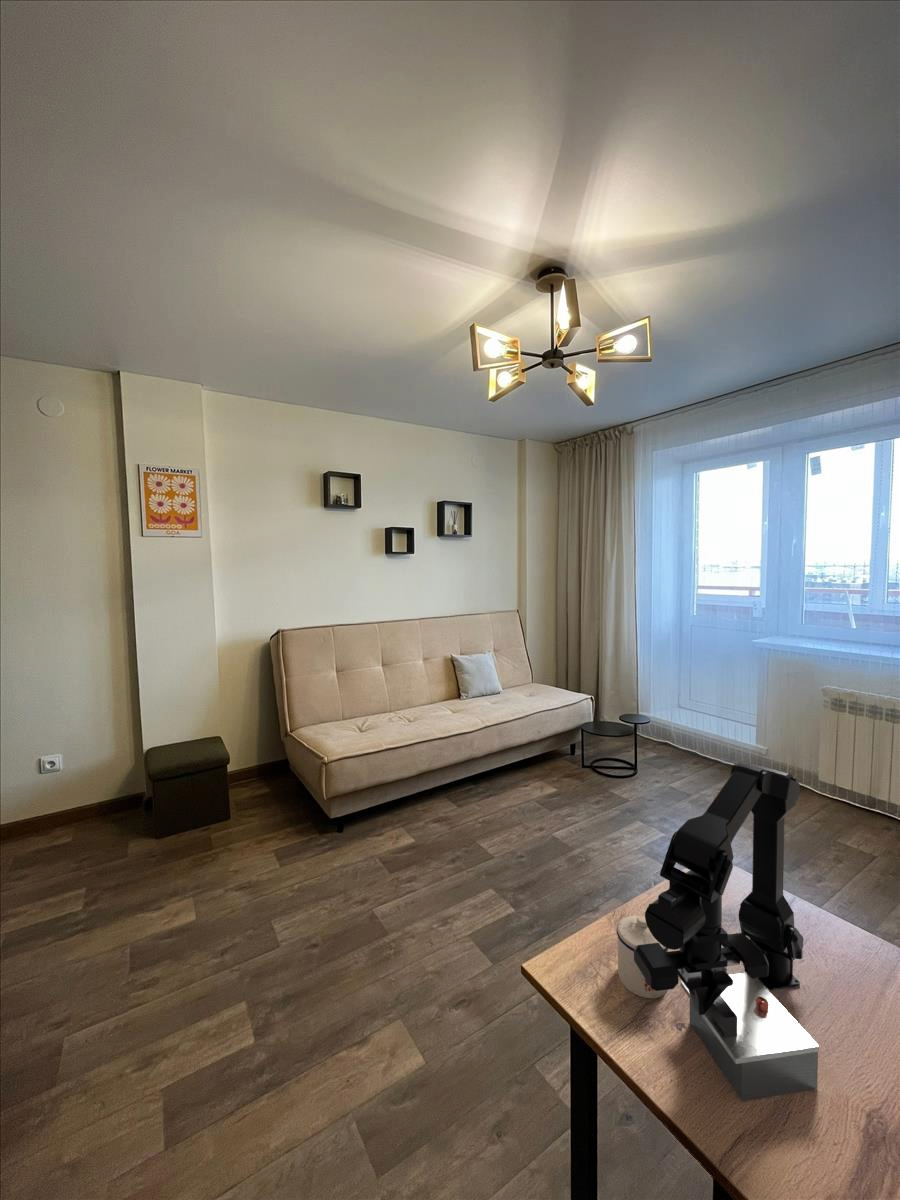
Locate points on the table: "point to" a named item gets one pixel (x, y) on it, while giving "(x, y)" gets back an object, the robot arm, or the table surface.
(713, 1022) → the box lid
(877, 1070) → the table surface
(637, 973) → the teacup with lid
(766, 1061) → the metal box
